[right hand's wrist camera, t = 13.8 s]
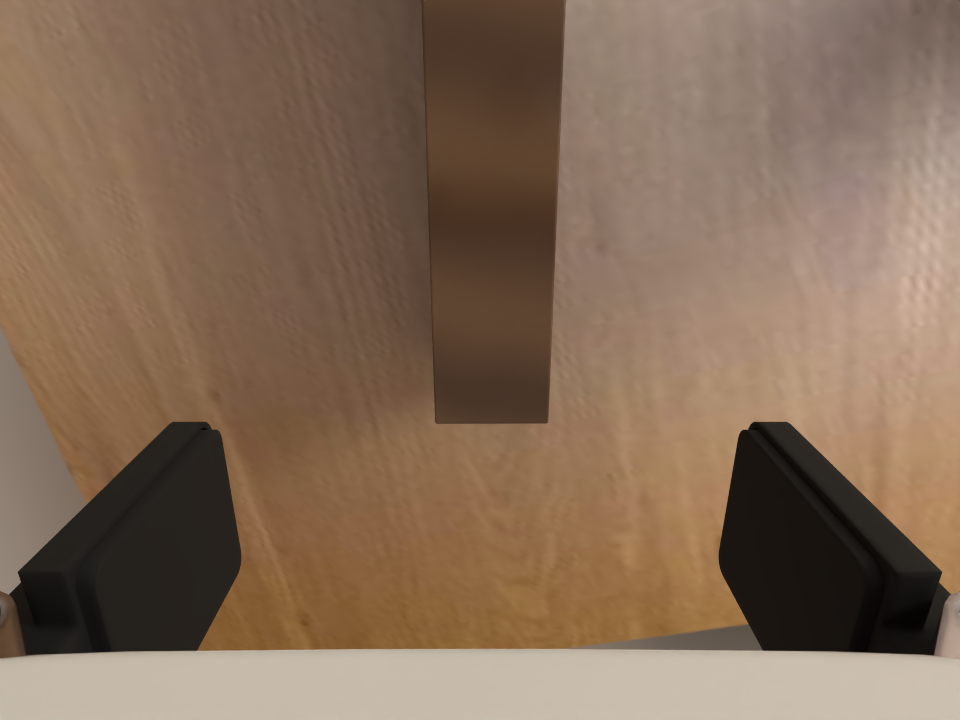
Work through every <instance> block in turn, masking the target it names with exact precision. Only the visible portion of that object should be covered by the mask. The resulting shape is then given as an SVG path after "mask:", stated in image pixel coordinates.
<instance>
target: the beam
mask: <svg viewBox="0 0 960 720" xmlns="http://www.w3.org/2000/svg"><path fill="white" fill-rule="evenodd" d="M565 4H566V0H422V28H423V59H424V90H425V121H426V152H427V184H428V215H429V246H430V277H431V308H432V339H433V370H434V401H435V422H436V423H437V424H484V423H548V415H549V391H550V367H551V342H552V318H553V294H554V270H555V246H556V222H557V197H558V173H559V149H560V125H561V101H562V77H563V53H564V28H565Z"/></svg>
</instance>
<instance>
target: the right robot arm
mask: <svg viewBox="0 0 960 720" xmlns="http://www.w3.org/2000/svg"><path fill="white" fill-rule="evenodd" d="M240 565H241V549H240V543H239V537H238V531H237V525H236V519H235V513H234V507H233V502H232V496H231V490H230V484H229V478H228V472H227V466H226V460H225V454H224V448H223V443H222V437H221V434H220V432H219V431H218V430H212V429H211V427H210V425H209V424H208V423H207V422H172V423H171V424H169V425H168V426H167V427H166V428H165V429H164V430H163V431H162V432H161V433H160V434H159V435H158V436H157V437H156V438H155V439H154V440H153V441H152V442H151V443H150V444H149V445H148V446H147V447H146V448H144V449H143V450H142V451H141V452H140V453H139V454H138V455H137V456H136V457H135V458H134V459H133V460H132V461H131V462H130V463H129V464H128V465H127V466H126V467H125V468H124V469H123V470H122V471H121V472H120V473H119V474H118V475H117V476H116V477H115V478H114V479H113V480H112V481H111V482H110V483H109V484H108V485H107V486H106V487H104V488H103V489H102V490H101V491H100V492H99V493H98V494H97V495H96V496H95V497H94V498H93V499H92V500H91V501H90V502H89V503H88V504H87V505H86V506H85V507H84V508H83V509H82V510H81V511H80V512H79V513H78V514H77V515H76V516H75V517H74V518H73V519H72V520H71V521H70V522H69V523H68V524H67V525H66V526H65V527H63V528H62V529H61V530H60V531H59V532H58V533H57V534H56V535H55V536H54V537H53V538H52V539H51V540H50V541H49V542H48V543H47V544H46V545H45V546H44V547H43V548H42V549H41V550H40V551H39V552H38V553H37V554H36V555H35V556H34V557H33V558H32V559H31V560H30V561H29V562H28V563H27V564H26V565H24V566H23V567H22V568H21V569H20V570H19V571H18V574H19V577H20V580H21V583H20V584H19V585H18V586H17V587H16V588H15V589H14V590H13V591H12V592H11V593H10V594H9V595H8V594H6V593H3V592H1V591H0V720H960V591H959V592H957V593H954V594H952V595H951V594H950V593H949V592H948V591H947V590H946V589H945V588H944V587H943V586H942V585H941V584H940V583H939V580H940V577H941V574H942V571H941V570H940V569H939V568H938V567H937V566H936V565H935V564H933V563H932V562H931V561H930V560H929V559H928V558H927V557H926V556H925V555H924V554H923V553H922V552H921V551H920V550H919V549H918V548H917V547H916V546H915V545H914V544H913V543H912V542H911V541H910V540H909V539H908V538H907V537H906V536H905V535H904V534H903V533H902V532H901V531H900V530H899V529H898V528H897V527H896V526H895V525H893V524H892V523H891V522H890V521H889V520H888V519H887V518H886V517H885V516H884V515H883V514H882V513H881V512H880V511H879V510H878V509H877V508H876V507H875V506H874V505H873V504H872V503H871V502H870V501H869V500H868V499H867V498H866V497H865V496H864V495H863V494H862V493H861V492H860V491H859V490H858V489H857V488H856V487H854V486H853V485H852V484H851V483H850V482H849V481H848V480H847V479H846V478H845V477H844V476H843V475H842V474H841V473H840V472H839V471H838V470H837V469H836V468H835V467H834V466H833V465H832V464H831V463H830V462H829V461H828V460H827V459H826V458H825V457H824V456H823V455H822V454H821V453H820V452H819V451H818V450H817V449H816V448H814V447H813V446H812V445H811V444H810V443H809V442H808V441H807V440H806V439H805V438H804V437H803V436H802V435H801V434H800V433H799V432H798V431H797V430H796V429H795V428H794V427H793V426H792V425H791V424H789V423H788V422H753V423H752V424H751V425H750V427H749V429H748V430H742V431H741V432H740V434H739V437H738V442H737V448H736V454H735V460H734V466H733V472H732V478H731V484H730V490H729V496H728V502H727V507H726V513H725V519H724V525H723V531H722V537H721V543H720V549H719V565H720V569H721V572H722V575H723V577H724V579H725V580H726V582H727V584H728V586H729V588H730V590H731V592H732V594H733V595H734V597H735V599H736V601H737V603H738V605H739V607H740V608H741V610H742V612H743V614H744V616H745V618H746V620H747V622H748V623H749V625H750V627H751V629H752V631H753V633H754V635H755V636H756V638H757V640H758V642H759V644H760V646H761V648H762V650H763V651H719V650H717V651H716V650H603V649H336V650H241V651H197V650H198V648H199V646H200V644H201V642H202V640H203V638H204V637H205V635H206V633H207V631H208V629H209V627H210V625H211V623H212V622H213V620H214V618H215V616H216V614H217V612H218V610H219V608H220V607H221V605H222V603H223V601H224V599H225V597H226V595H227V594H228V592H229V590H230V588H231V586H232V584H233V582H234V580H235V579H236V577H237V575H238V572H239V569H240Z"/></svg>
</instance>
